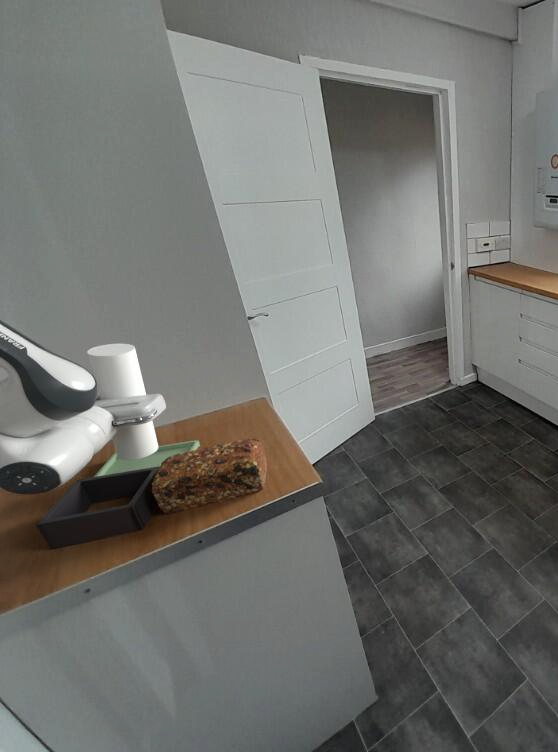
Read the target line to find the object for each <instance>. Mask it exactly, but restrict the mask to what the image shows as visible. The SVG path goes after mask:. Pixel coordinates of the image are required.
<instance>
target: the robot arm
mask: <svg viewBox="0 0 558 752" xmlns="http://www.w3.org/2000/svg"><path fill="white" fill-rule="evenodd" d="M0 368H2V369H3V370H4V371H6V373H7V375H8V376H7V377H5V378H3V379H1V380H0V489H1V490H3V491H6V492H8V493H11V494H16V495H27V496H29V495H39V494H45V493H47V492H50V491H54V490H55V489H56V490H57V488H60V487H62V486H63V485H65V484H67V482H69V481H70V480H72V479H73V478H74V477H75V476H76V475H77V474H79V473H80V472H81V470H83V469H84V468H85V467H86V466H87V465H88V464H89V462H90V461H91V460H92V458H93V456H94V455H96V454H97V453H99V452H100V451H101V450H102V449H103V448H104V447H105V446H106V445H107V444H108V443H109V442H110V441H111V440H112V437H113V436H114V435H115V433H116V431H117V428H118V427H125V426H133V425H140V424H145V423H148V422H150V421H154V420H155V419H156V418H158V417H159V416H160V415H161V414H162V413H163V412H164V411H165V410H166V409H167V404H166V401H165V398H164V396H163V395H162V394H161V393H150V394H149V393H148V394H146V395H140V396H131V397H123V398H114V399H106V400H101V399H100V395H98V394H99V392H98V386H97V381H96V379H95V377H94V374H93V373H92V372H91V371H89V370H88V368H85V366H82V365H81V364H79V363H77V362H75V361H73V360H71V359H68V358H67V357H64V356H62V355H60V354H58V353H56V352H53V351H51V350H50V349H48V348H47V347H45V346H43V345H42V344H39V343H38V342H37V341H35V340H33V339H32V338H30V337H28V336H27V335H26V334H24V333H22V332H21V331H19V330H18V329H16V328H15V327H12V326H11V325H9V324H7V323H6V322H5V321H3V320H1V319H0Z"/></svg>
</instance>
